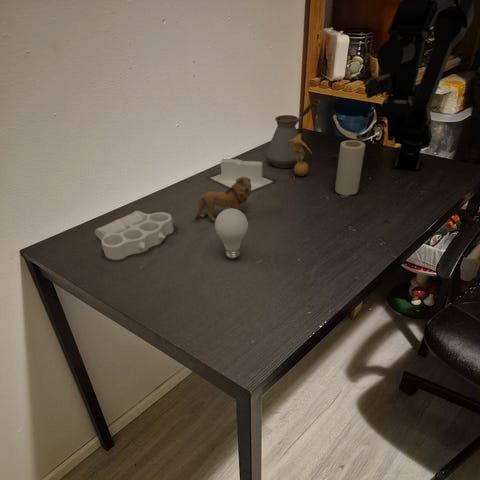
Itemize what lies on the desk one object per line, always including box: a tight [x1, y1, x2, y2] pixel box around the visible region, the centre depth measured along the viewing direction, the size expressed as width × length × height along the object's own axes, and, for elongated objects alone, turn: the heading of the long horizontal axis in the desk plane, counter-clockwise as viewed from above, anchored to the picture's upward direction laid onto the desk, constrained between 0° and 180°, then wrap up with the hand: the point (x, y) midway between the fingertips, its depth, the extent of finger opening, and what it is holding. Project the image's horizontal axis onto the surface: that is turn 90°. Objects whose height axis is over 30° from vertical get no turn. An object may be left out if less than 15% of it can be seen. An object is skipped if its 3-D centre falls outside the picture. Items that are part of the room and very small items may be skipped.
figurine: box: [287, 133, 313, 177], centre depth 116 cm, size 8×6×12 cm
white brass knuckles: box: [94, 210, 175, 261], centre depth 95 cm, size 3×18×15 cm
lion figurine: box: [194, 176, 252, 223], centre depth 101 cm, size 15×5×9 cm, turn 110°
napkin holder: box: [210, 158, 274, 192], centre depth 118 cm, size 15×11×6 cm
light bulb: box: [214, 207, 249, 260], centre depth 86 cm, size 7×7×11 cm
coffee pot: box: [265, 98, 321, 169], centre depth 126 cm, size 21×12×15 cm, turn 138°
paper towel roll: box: [334, 139, 366, 196], centre depth 108 cm, size 6×12×6 cm
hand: (392, 134), depth 106 cm, fingers open, 9 cm apart
